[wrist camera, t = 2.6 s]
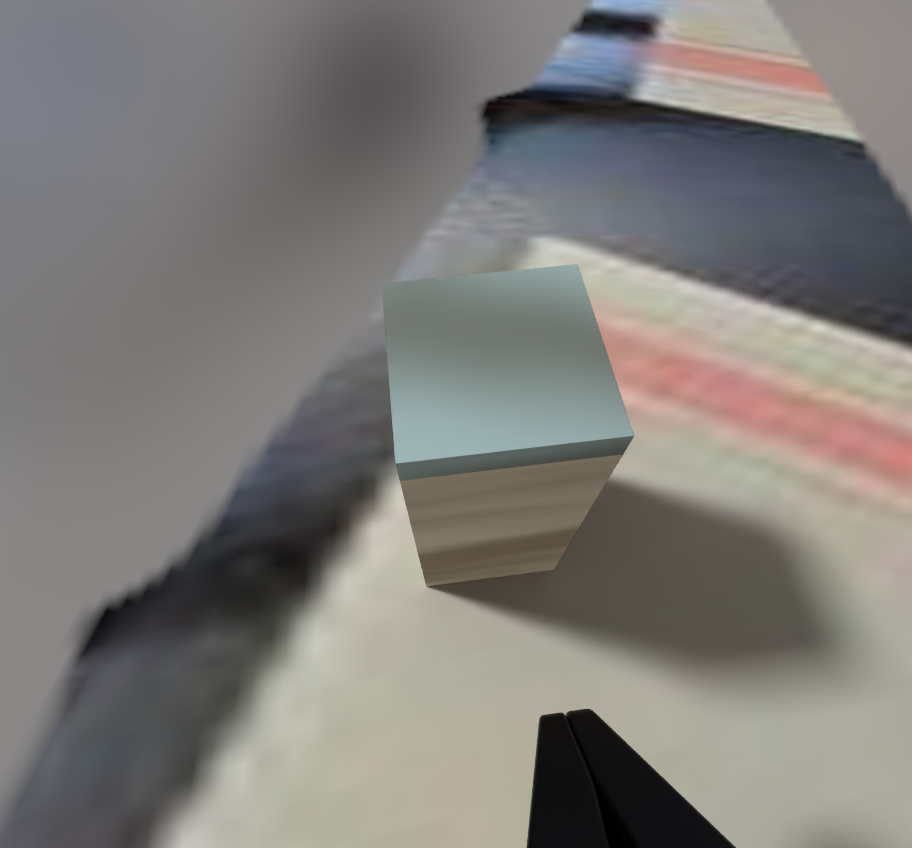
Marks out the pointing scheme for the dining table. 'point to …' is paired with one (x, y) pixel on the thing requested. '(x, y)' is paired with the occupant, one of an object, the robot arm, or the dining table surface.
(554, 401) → the beech block
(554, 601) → the dining table surface
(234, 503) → the dining table surface
